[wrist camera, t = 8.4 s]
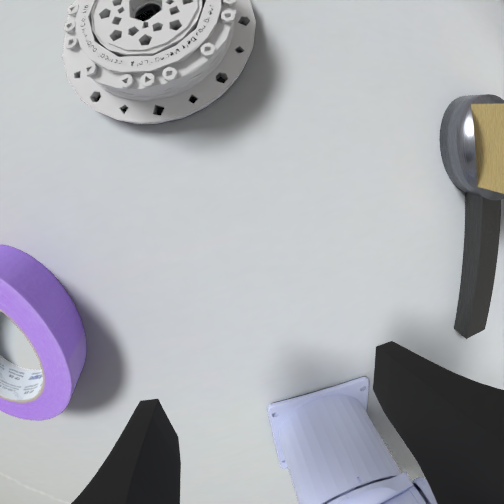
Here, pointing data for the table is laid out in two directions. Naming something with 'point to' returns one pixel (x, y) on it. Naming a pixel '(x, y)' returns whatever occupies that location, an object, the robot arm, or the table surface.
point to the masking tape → (39, 338)
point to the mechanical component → (155, 54)
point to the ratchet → (472, 214)
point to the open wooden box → (489, 145)
